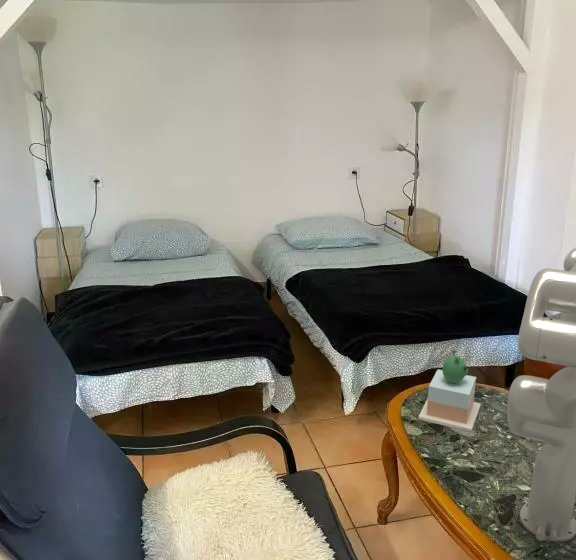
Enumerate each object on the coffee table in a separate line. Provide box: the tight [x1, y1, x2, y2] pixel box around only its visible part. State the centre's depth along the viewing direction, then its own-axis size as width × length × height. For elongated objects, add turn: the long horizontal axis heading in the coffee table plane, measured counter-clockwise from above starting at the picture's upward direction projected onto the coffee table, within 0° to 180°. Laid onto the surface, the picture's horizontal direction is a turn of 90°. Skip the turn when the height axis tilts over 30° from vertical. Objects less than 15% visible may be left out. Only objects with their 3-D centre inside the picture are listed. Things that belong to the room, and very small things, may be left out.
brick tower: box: [418, 369, 482, 433], centre depth 187 cm, size 16×16×11 cm
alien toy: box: [441, 348, 469, 383], centre depth 183 cm, size 7×8×10 cm
